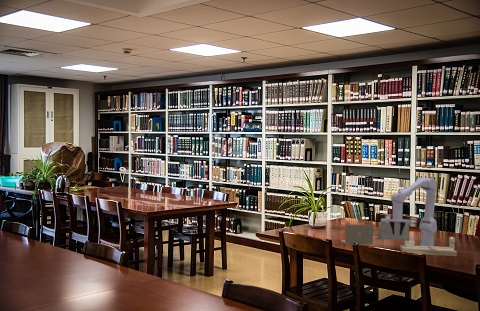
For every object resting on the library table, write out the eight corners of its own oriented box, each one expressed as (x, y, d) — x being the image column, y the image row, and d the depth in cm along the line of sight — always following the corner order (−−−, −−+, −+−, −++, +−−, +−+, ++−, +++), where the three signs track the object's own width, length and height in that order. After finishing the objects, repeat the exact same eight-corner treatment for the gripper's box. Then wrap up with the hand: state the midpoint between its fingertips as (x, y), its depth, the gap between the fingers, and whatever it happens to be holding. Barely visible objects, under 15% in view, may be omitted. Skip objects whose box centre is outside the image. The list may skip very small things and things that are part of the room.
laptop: (367, 241, 340) (367, 221, 340) (372, 245, 328) (373, 224, 328) (340, 241, 340) (341, 221, 339) (345, 244, 327) (345, 224, 327)
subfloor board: (399, 249, 316) (400, 244, 315) (450, 251, 311) (450, 247, 311) (403, 253, 303) (403, 249, 303) (456, 256, 299) (456, 251, 298)
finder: (404, 245, 315) (404, 239, 315) (412, 245, 314) (412, 240, 314) (405, 246, 310) (406, 241, 310) (414, 247, 309) (414, 241, 309)
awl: (448, 249, 317) (448, 236, 316) (453, 249, 316) (454, 237, 316) (449, 250, 313) (449, 237, 313) (455, 251, 313) (455, 238, 313)
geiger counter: (407, 218, 351) (371, 217, 350) (410, 219, 344) (374, 219, 343) (406, 238, 351) (370, 238, 350) (410, 240, 345) (373, 239, 344)
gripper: (386, 212, 309) (385, 235, 310) (411, 213, 307) (410, 236, 308) (384, 211, 316) (384, 233, 317) (408, 212, 314) (408, 234, 315)
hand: (397, 234), depth 313 cm, fingers open, 4 cm apart
